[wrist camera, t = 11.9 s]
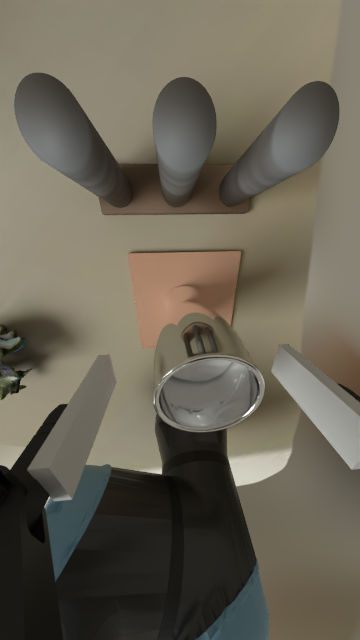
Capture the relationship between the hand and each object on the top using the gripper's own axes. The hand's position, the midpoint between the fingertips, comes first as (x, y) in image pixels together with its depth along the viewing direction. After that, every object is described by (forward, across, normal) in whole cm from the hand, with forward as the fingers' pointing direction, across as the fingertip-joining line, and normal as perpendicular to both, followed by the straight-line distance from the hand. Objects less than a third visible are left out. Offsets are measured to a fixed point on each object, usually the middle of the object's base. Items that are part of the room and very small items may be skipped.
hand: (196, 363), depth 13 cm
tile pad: (+12, 0, -1) cm, 12 cm away
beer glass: (+12, 0, -1) cm, 12 cm away
